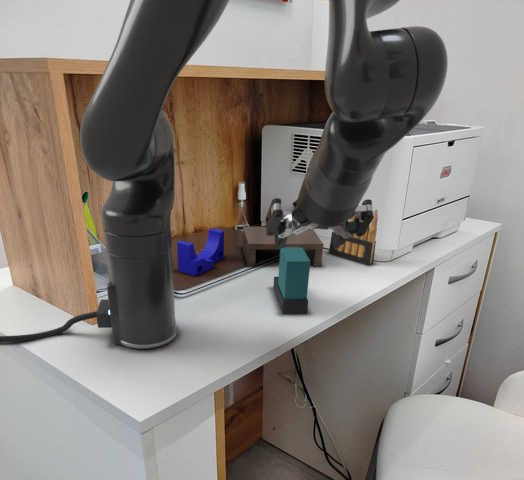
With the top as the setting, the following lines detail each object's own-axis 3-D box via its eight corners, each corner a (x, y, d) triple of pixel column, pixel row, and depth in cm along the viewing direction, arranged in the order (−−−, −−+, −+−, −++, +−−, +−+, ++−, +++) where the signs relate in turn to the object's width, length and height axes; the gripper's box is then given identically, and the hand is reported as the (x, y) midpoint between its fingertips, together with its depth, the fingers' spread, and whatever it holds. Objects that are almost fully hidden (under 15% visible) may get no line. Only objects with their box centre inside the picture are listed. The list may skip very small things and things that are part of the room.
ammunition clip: (373, 263, 110) (382, 209, 104) (369, 265, 109) (378, 210, 103) (332, 251, 116) (339, 199, 110) (328, 253, 115) (334, 200, 108)
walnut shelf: (247, 266, 105) (248, 243, 102) (242, 247, 115) (242, 226, 113) (321, 266, 107) (323, 244, 104) (309, 247, 117) (311, 227, 115)
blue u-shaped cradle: (195, 276, 99) (195, 247, 96) (178, 270, 101) (177, 242, 98) (229, 259, 108) (229, 232, 105) (212, 254, 110) (212, 228, 107)
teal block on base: (282, 314, 86) (286, 262, 81) (273, 288, 96) (276, 240, 91) (307, 313, 87) (312, 262, 82) (295, 288, 96) (299, 240, 91)
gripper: (388, 156, 62) (350, 220, 77) (275, 153, 60) (260, 220, 75) (395, 210, 60) (355, 265, 75) (279, 209, 58) (263, 265, 74)
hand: (307, 242), depth 75 cm, fingers open, 8 cm apart
